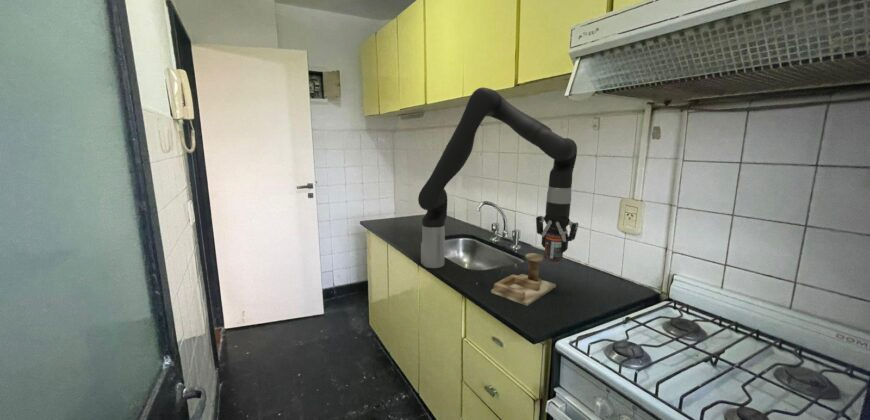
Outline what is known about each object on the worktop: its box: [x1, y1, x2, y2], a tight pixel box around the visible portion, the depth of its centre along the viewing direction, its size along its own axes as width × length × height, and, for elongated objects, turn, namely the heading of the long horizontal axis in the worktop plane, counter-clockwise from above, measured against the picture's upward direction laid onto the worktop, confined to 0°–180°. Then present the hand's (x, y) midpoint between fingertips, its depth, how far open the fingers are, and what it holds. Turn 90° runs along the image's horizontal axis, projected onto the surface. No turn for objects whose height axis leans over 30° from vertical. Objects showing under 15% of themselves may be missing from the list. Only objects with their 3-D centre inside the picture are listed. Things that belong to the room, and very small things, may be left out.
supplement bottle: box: [543, 227, 564, 263], centre depth 119 cm, size 6×6×11 cm
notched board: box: [490, 273, 557, 307], centre depth 124 cm, size 14×20×4 cm
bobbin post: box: [525, 252, 544, 284], centre depth 127 cm, size 6×6×10 cm
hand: (554, 249), depth 119 cm, fingers closed on supplement bottle, 6 cm apart
